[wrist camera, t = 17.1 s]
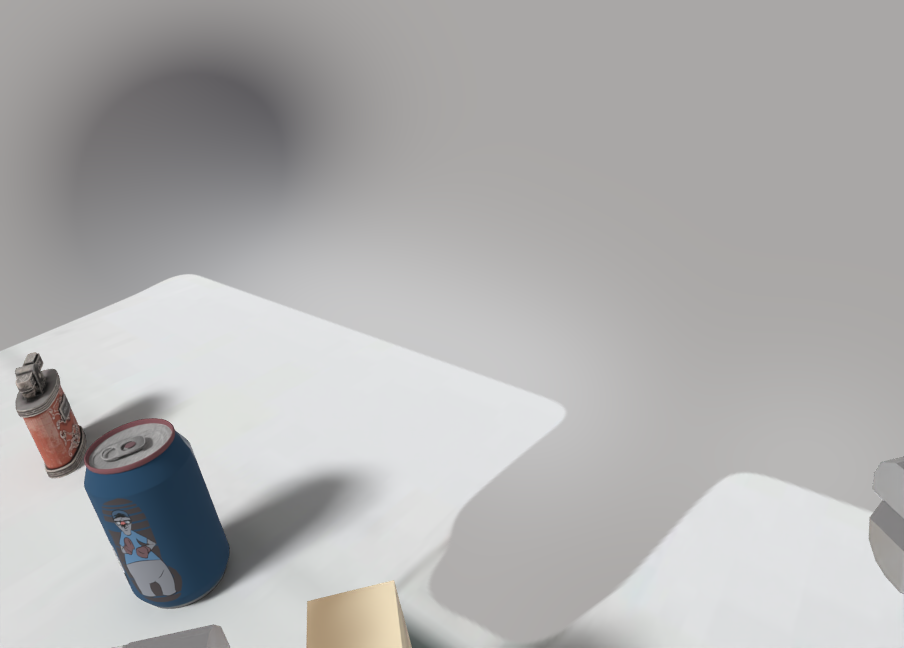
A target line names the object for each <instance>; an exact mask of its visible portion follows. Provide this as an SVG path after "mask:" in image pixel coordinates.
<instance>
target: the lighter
mask: <svg viewBox="0 0 904 648" xmlns="http://www.w3.org/2000/svg"><path fill="white" fill-rule="evenodd" d="M42 365H43V361H42V359H41V357H40V355H39V353H36V352H34V353H30V354H28V355H27V357H26V359H25V361H24V363H23V366H22V367H19V368H16V370H15V374H16V379H17V380H16V385H17V387H18V389H19V392H18V394H17V398H16V410H17V412H18V414H19V416H20V417H23V419H24V421H25V423H26V425H27V427H28V429H29V431H30V433H31V435H32V437H33V439H34V441H35V443H36V445H37V448H38V450H39V452H40V454H41V456H42V458H43V460H44V463H45V470H46V472H47V474H48V476H49V477H50V478H60V477H63V476H66V475H68V474H70V473H72V472H73V471H75V470H76V469H77V467H78V466H79V464H80V462H81V460H82V458H83V456H84V453H85V450H86V437H85V433H84V431H83V429H82V427H81V426H79V425H78V423H77V421H76V419H75V416H74V414H73V412H72V410H71V407H70V404H69V402H68V400H67V398H66V395H65V394H64V392H63V390H62V388H61V385H60V378H59V375H58V373H57V371H56V370H55V369H48V370H43V371H40V370H41V368H42Z"/></svg>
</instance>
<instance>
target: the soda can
mask: <svg viewBox="0 0 904 648" xmlns="http://www.w3.org/2000/svg"><path fill="white" fill-rule="evenodd" d="M84 462H85V465H86V473H85V481H84V486H85V490H86V492H87V494H88V496H89V498H90V500H91V503H92V505H93V507H94V509H95V511H96V513H97V515H98V518H99V520H100V522H101V524H102V526H103V528H104V530H105V533H106V535H107V537H108V539H109V541H110V543H111V546H112V548H113V550H114V552H115V554H116V556H117V558H118V561H119V563H120V565H121V567H122V569H123V571H124V574H125V576H126V578H127V580H128V582H129V584H130V586H131V589H132V591H133V592H134V594H135V595H136V596H137V597H138V598H140V599H141V600H143V601H145V602H147V603H149V604H152V605H154V606H157V607H160V608H165V609H172V608H179V607H183V606H186V605H189V604H191V603H194V602H196V601H198V600H199V599H201V598H203V597H204V596H206V595H207V594H208V593H209V592H211V591H212V590H213V589H214V588H215V587H216V586H217V584H218V583H219V582H220V580H221V579H222V577H223V575H224V572H225V569H226V565H227V562H228V558H229V544H228V541H227V539H226V536H225V534H224V531H223V528H222V526H221V523H220V521H219V518H218V515H217V513H216V510H215V508H214V505H213V502H212V500H211V497H210V494H209V492H208V489H207V487H206V484H205V481H204V479H203V476H202V474H201V471H200V468H199V466H198V463H197V461H196V458H195V455H194V453H193V450H192V448H191V445H190V443H189V441H188V440H187V439H186V438H184V437H183V436H182V435H180V434H179V433H178V432H176V431H175V429H174V427H173V425H172V424H171V423H170V422H168V421H166V420H163V419H156V418H151V419H141V420H137V421H133V422H130V423H127V424H125V425H122V426H120V427H117V428H115V429H113V430H111V431H110V432H108V433H106V434H105V435H103V436H102V437H100V438H99V439H98V440H96V441H95V442H94V443H93V444H92V445H91V446H90V447H89V449H88V450H87V452H86V454H85V456H84Z"/></svg>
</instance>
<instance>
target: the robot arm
mask: <svg viewBox="0 0 904 648" xmlns="http://www.w3.org/2000/svg"><path fill="white" fill-rule="evenodd" d="M873 490H874V492H875V493H877V495H878V496H879V497H880V498H881V499H882V500H883V501H882V502H881V503H880V505H879V506H878V507H877V509H876V510H875V511H874V513H873V514H872V515H871V517H870V522H869V541H870V545H871V548H872V551H873V554H874V557H875V560H876V562H877V564H878V565H879V567H880V568H881V570H882V572H883V573H884V575H885V577H886V578H887V579H888V580H889V581H890V582H891V583H892V584H893V585H894V586H895V588H896V589H897V590H898V591H899V592H900V593H902V594H904V457H900V458H896V459H892V460H888V461H884V462H881V463H880V465H879V466H878V468H877V469H876V471H875V472H874V480H873ZM113 648H230V645H229V643H228V641H227V639H226V637H225V634H224V632H223V630H222V628H221V627H220V626H217V625H209V626H205V627H200V628H196V629H191V630H186V631H182V632H177V633H173V634H168V635H163V636H159V637H154V638H150V639H145V640H140V641H136V642H131V643H129V644H128V645H123V646H118V647H113Z"/></svg>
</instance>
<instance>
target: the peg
mask: <svg viewBox="0 0 904 648" xmlns="http://www.w3.org/2000/svg"><path fill="white" fill-rule="evenodd" d="M307 648H412V646H411V643H410V639H409V635H408V631H407V628H406V624H405V620H404V616H403V612H402V609H401V605H400V601H399V597H398V594H397V590H396V586H395V582H394V580H393V581H389V582H385V583H381V584H377V585H373V586H368V587H364V588H360V589H356V590H352V591H348V592H344V593H340V594H336V595H331V596H327V597H323V598H319V599H315V600H311V601H307Z"/></svg>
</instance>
